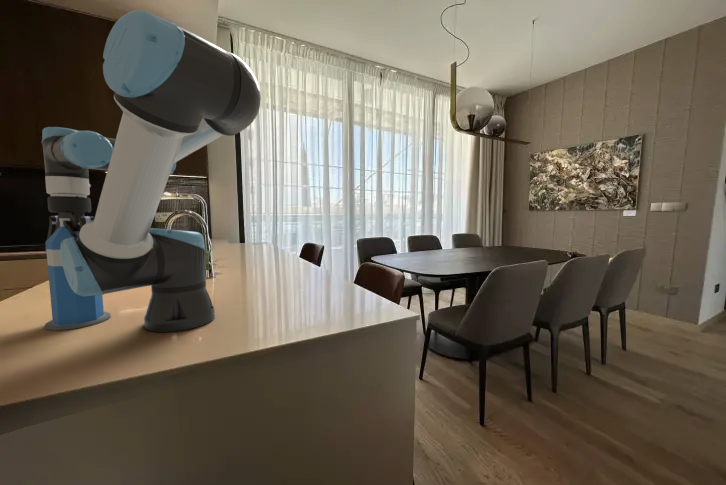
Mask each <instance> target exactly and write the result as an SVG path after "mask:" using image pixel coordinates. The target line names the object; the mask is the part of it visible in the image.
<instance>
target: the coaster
mask: <svg viewBox="0 0 726 485" xmlns="http://www.w3.org/2000/svg"><path fill="white" fill-rule="evenodd" d="M110 318H111V313H110V312H107V311H104V315H103V316H101V317H100V318H98V319H96V320H92V321H88V322H84V323H80V324H72V325H57V324H54V323H53V319H52V320H51V319H50V320H49V321H47V322H46V323H44V329H45V330H47V331H59V332H60V331H68V330H69V331H70V330H77V329H81V328H86V327H91V326H95V325H99V324H101V323H103V322H106V321H108V320H109V319H110Z"/></svg>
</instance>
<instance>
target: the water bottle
mask: <svg viewBox="0 0 726 485" xmlns="http://www.w3.org/2000/svg"><path fill="white" fill-rule="evenodd" d="M59 221H60V227H59V228H58V229H57V230H56V231H55V232H54V233H53V234H52V235H51V237H50V238H49V239H48V240H47V239H46V240H45V246H46V252H45V253H46V261H47V272H48V273H47V274H48V285H49V295H50V306H51V317H52V320H53V323H54V324H57V325H72V324H80V323H84V322H88V321H92V320H96V319H98V318H100V317H101V316H103V315H104V312H105V310H104V300H103V297H104V295H93V296H80V295H77V294H76V293H75V292H74V291H73V290H72V289H71V287H70V285H69V283H68V281H67V278H66V275H65V272H64V269H63V265H62V260H61V252H60V247H61V242H62V241H63V240H64V239H68V238H71V237H74V236H72V235H71V234H70V232H69V231H68V229H66V228H65V227H64V225H63V221H70V218H59ZM74 238H75V237H74Z"/></svg>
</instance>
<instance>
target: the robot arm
mask: <svg viewBox="0 0 726 485" xmlns="http://www.w3.org/2000/svg"><path fill="white" fill-rule="evenodd" d="M102 53H103V55H102V58H103V59H104V62H103V64H102V71H103V72H102V73H103V78H104V80H105V83H106V84H107V86H108V87H109V89H110V90H112V91H113V92H114V94H113V99H114V101H115V103H116V104H117V106H118V107H119V108H120V109H121V111H122V116H121V120H120V123H119V126H118V129H117V133H116V136H115V137H116V138H112V137H108V136H107V137H106V136H103V135H102V134H100V133H98V132H96V131H92V130H77V129H72V128H68V127H59V126H53V127H52V126H47V127H44V128H43V129H42V130H41V131H42V133H41V134H42V136H41V138H42V139H41V146H42V149H43V151H42V152H43V160H44V161H43V162H44V171H45V172H44V173H45V177H44V178H45V179H44V180H45V189H46V194H48V195H50V196H48V197H47V199H46V200H47V208H48V209H47V210H48V212H50V213H57V215H50V216H49V218H48V220H49V226H48V232H47V236H46V241H47V240H48V239H49V238H50V237H51V235H52V234H53V233H54V232H55V231H56V230H57V229H58V228H59V227H60V221H59V218H70V221H63V225H64V227H65V228H66V229H68V231H69V232H70V234H71V235H72V236H74V237H75V238H74V237H71V238H68V239H64V240H63V241H62V242H61V247H60V252H61V260H62V265H63V269H64V272H65V275H66V278H67V281H68V283H69V285H70V287H71V289H72V290H73V291H74V292H75V293H76V294H77V295H80V296H93V295H102V296H104V295H106V294H113V293H118V292H122V291H128V290H133V289H138V288H144V287H149V286H151V288H150V289H151V296H150V299H149V302H148V305H147V309H146V313H145V315H144V318H143V321H144V322H143V323H144V329H146V330H147V331H149V332H155V333H172V332H180V331H187V330H191V329H195V328H198V327H201V326H204V325H206V324H208V323H210V322H212V321H214V319H215V318H216V317H215V316H216V315H215V313H216V312H215V306H214V305H213V302H212V299H211V297H210V295H209V292H208V289H207V282H206V281H207V278H206V254H205V253H206V246H205V238H204V236H203V234H202V233H201V232H199V231H189V230H181V229H180V230H179V229H166V228H157V227H156V228H154V227H152V223H153V221H154V218H155V216H156V213H157V210H158V208H159V204H160V201H161V199H162V197H163V194H164V191H165V189H166V186H167V183H168V180H169V177H170V176H171V175H173V173H174V171H175V170H176V169H177V168H176V167H177V162H179V161H180V160H182V159H185V157H188V156H189V155H191V154H193V153H194V152H196V151H198V150H200V149H201V148H203V147H205V146H207V145H208V144H210V143H212V142H214V141H216V140H217V139H219V138H220V137H222V136H224V137H233V136H235V135H237V134H239V133H241V132H243V131H244V130H246V129H247V128H248V127H249V126H250V125H251V124H252V123H253V122H254V120H256V118H257V116H258V114H259V111H260V109H261V107H260V106H261V101H262V100H261V99H262V98H261V96H262V95H261V90H260V86H259V83H258V80H257V78H256V76H255V74H254V73H253V70H252V69H251V68H250V67H249V66H248V65H247V64H246V62H245V61H243V60H242V58H240V57H239V56H237V55H236V54H234V53H232V52H230V51H229V50H228V51H227V50H225V49H223V48H221V47H219V46H218V45H216V44H214V43H212V42H210V41H208V40H206V39H205V38H203V37H201V36H199V35H197V34H195V33H193V32H191V31H189V30H188V29H185V28H184V27H182V26H180V25H178V24H176V23H175V22H174V21H173V20H168V19H165V18H162V17H160V16H158V15H155V14H153V13H151V12H149V11H146V10H142V9H135V10H131V11H129V12H127V13H126V14H123V15H122V16H121V17H120V18H118V20H116V22H115V23H114V24H113V26H112V28H111V30H110V31H109V34H108V36H107V38H106V42H105V45H104V49H103V52H102ZM89 170H99V171H106V175H105V179H104V183H103V185H102V189H101V193H100V196H99V199H98V200H99V201H98V203H97V208H96V211H95V216H94V215H93V216H90V215H89V216H88V215H87V216H85V213H87V214H88V213H91V212H92V201H91V198H90V197H88V196H90V194H91V191H90V188H91V186H92V185H91V184H90V175H89ZM44 251H45V253H47V252H46V245H45V246H44Z"/></svg>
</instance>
